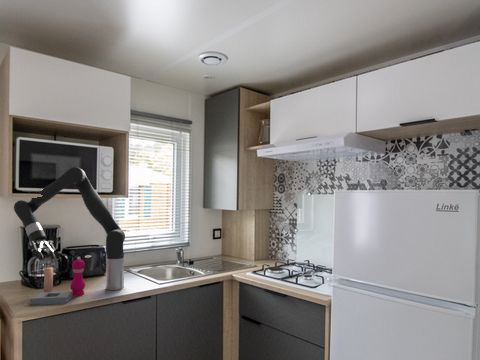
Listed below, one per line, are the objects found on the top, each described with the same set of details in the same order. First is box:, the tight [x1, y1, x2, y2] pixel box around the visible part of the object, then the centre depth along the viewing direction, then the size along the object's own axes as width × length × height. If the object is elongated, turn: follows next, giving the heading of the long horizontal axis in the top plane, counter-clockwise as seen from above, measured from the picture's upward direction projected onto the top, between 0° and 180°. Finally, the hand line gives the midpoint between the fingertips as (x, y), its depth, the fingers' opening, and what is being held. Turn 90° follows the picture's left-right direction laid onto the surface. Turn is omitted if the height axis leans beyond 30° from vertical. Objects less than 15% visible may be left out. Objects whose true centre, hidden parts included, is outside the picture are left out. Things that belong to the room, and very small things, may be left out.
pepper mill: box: [69, 256, 86, 297], centre depth 182 cm, size 7×7×20 cm
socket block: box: [30, 291, 74, 306], centre depth 170 cm, size 16×10×3 cm, turn 100°
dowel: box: [43, 267, 54, 292], centre depth 180 cm, size 4×4×14 cm
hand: (47, 259), depth 177 cm, fingers open, 8 cm apart
